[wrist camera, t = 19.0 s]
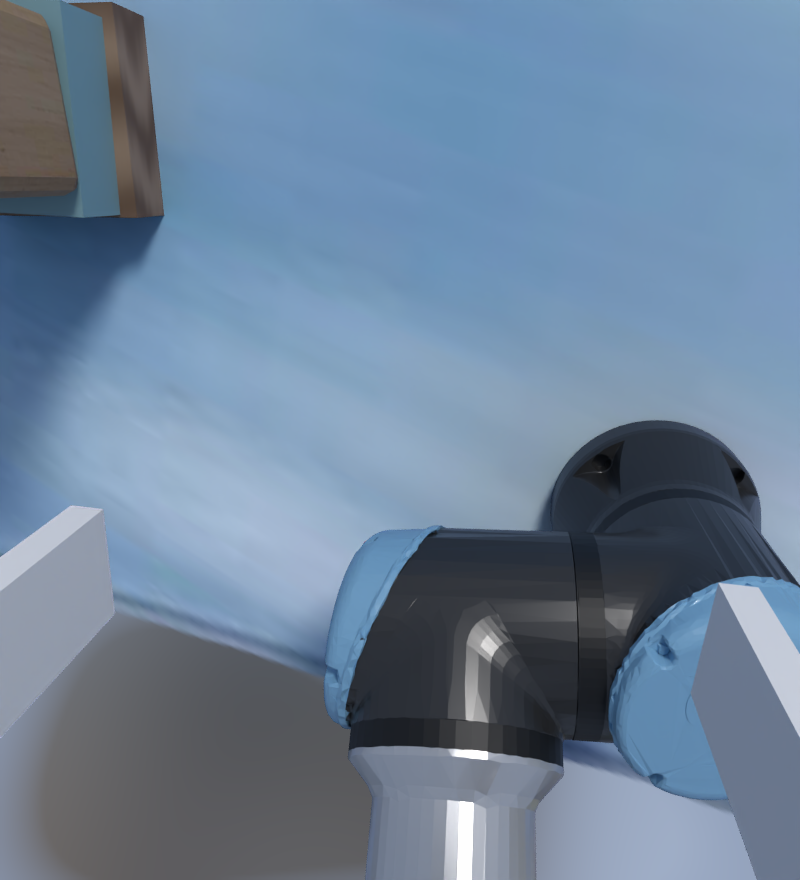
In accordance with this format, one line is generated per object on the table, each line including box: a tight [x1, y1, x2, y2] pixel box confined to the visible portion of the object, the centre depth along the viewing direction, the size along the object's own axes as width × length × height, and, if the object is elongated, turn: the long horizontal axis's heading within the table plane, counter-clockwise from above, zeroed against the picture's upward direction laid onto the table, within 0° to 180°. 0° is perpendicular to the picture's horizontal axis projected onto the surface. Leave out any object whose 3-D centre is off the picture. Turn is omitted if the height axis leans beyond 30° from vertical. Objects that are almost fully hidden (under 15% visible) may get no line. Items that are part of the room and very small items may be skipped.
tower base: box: [0, 2, 164, 218], centre depth 49 cm, size 13×13×4 cm
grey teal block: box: [0, 0, 120, 218], centre depth 45 cm, size 12×12×4 cm
